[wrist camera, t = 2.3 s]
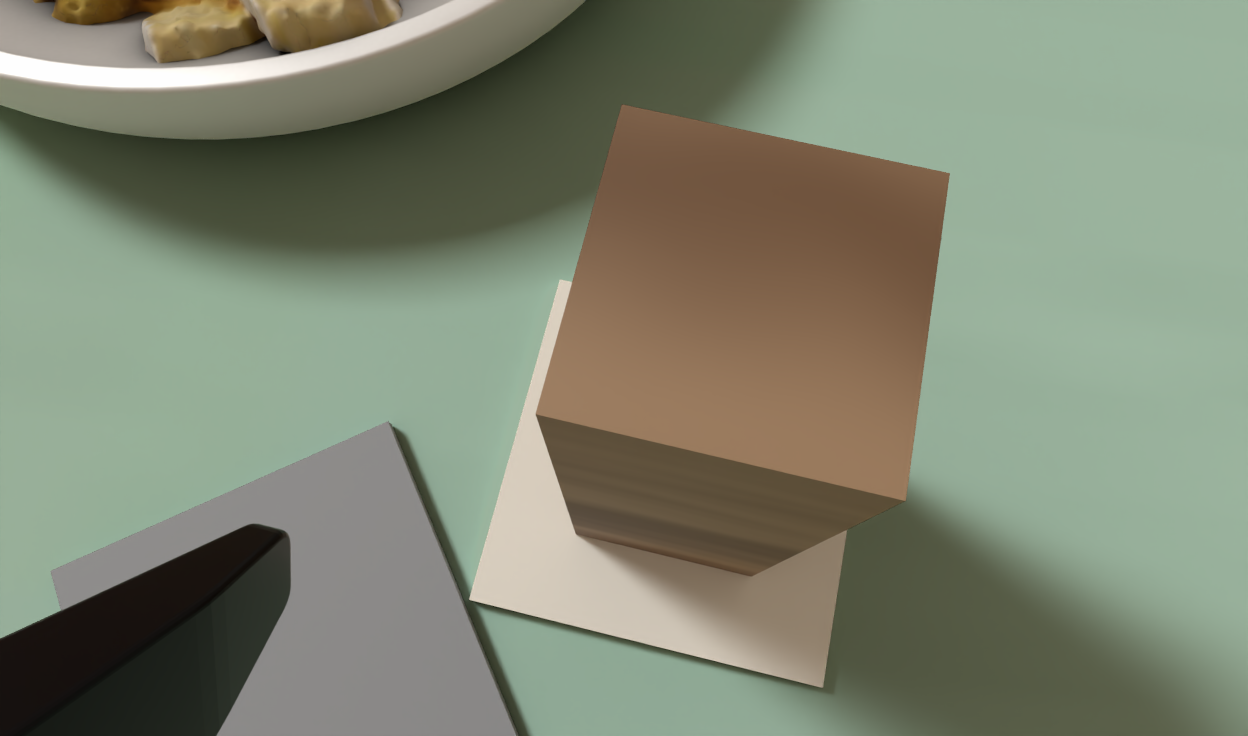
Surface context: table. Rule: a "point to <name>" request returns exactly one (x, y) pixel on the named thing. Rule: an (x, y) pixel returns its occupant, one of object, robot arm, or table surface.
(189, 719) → the robot arm
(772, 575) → the tile
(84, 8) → the bowl
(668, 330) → the walnut block
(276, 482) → the rest mat
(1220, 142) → the table surface
